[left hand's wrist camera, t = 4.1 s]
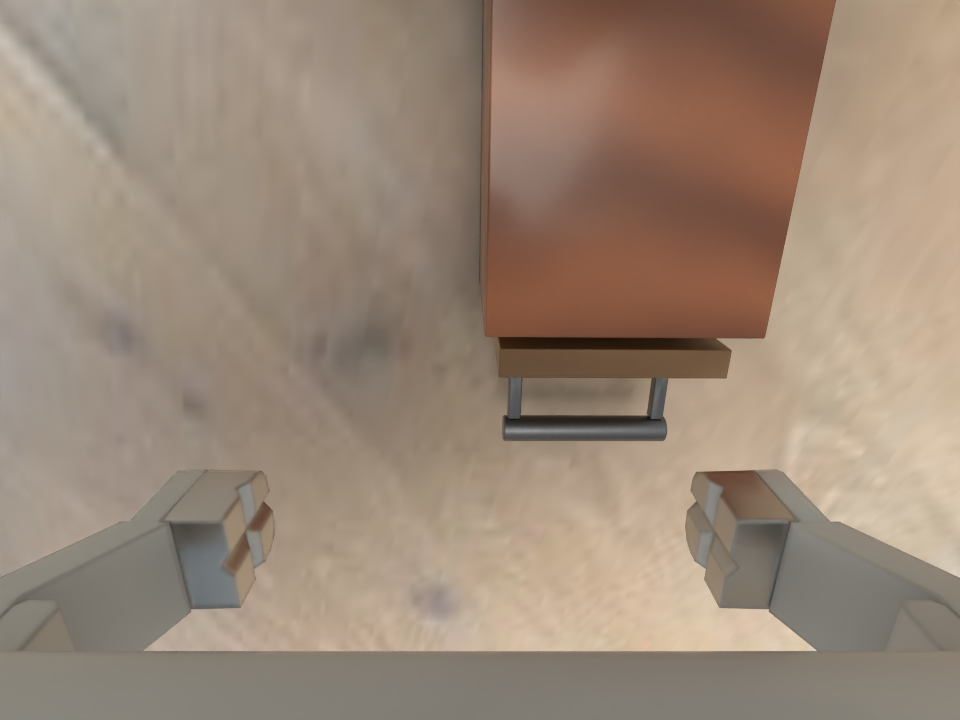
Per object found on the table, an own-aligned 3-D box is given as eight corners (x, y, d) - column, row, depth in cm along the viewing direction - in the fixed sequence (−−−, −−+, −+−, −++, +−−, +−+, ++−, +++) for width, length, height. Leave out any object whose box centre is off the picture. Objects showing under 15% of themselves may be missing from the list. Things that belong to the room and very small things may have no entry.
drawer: (650, 409, 30) (706, 487, 23) (489, 409, 30) (495, 487, 23) (721, -107, 22) (842, -230, 15) (500, -113, 22) (515, -240, 15)
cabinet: (672, 281, 29) (765, 339, 20) (479, 279, 28) (484, 337, 20) (740, -199, 22) (931, -445, 13) (485, -207, 22) (498, -463, 13)
